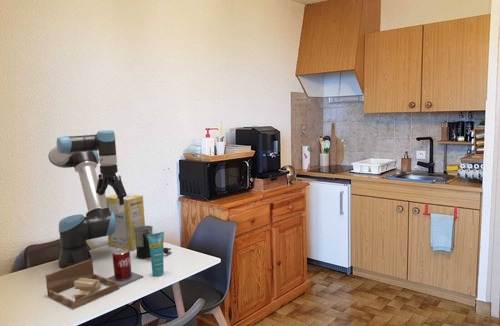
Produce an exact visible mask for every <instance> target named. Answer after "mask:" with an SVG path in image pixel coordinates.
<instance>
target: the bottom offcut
mask: <svg viewBox="0 0 500 326" xmlns="http://www.w3.org/2000/svg"><path fill="white" fill-rule="evenodd" d="M100 290H101V283H100V282H99V288H97V289H96V290H94V291H86V290H79V289H78V291H77V292H76V293H75V294H74V301H76V300H79V299H81V298H83V297H86V296H88V295H90V294H93V293H95V292H98V291H100Z"/></svg>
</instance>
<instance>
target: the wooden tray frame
mask: <svg viewBox="0 0 500 326" xmlns="http://www.w3.org/2000/svg"><path fill="white" fill-rule="evenodd" d="M93 263H94V262H93V259H90V260H87V261H84V262H81V263H78V264H75V265H72V266H69V267H66V268H61V269H58V270H55V271H53V272H49V273H45V280H46V290H47V291H46V292H47V296H48V298H49V297H50V298H51V299H53V300H55V301H57V302H59V303H62V304H63V305H64V306H68V307H69V308H72V309H73V310H75V309H77V308H80V307H82V306H84V305H86V304H89V303H91V302H93V301H96V300H98V299H100V298H102V297H103V298H104V296H108V295H109V294H111V293H114V292H116V291H118V290H120V289H121V287H119V283H117V282H115V281H112V280H109V279H107V278H108V277H104V276H101V275H100V274H99V275H98V274H96V273H95V272H94V264H93ZM80 278H87V279H95V280H99V282H100V284H102V285H106V286H107V285H108V286H107V287H105V288H102V289H100V290H99V291H98V292H95V293H93V294H90V295H88V296H86V297H83V298H81V299H79V300H76V301H75V300H72V299H70V298H68V297H66V296H64V295H62V294H59V293H62V292H64V291H67V290H69V289H72V288H74V281H76V280H78V279H80Z"/></svg>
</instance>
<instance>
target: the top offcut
mask: <svg viewBox="0 0 500 326" xmlns="http://www.w3.org/2000/svg"><path fill="white" fill-rule="evenodd" d="M73 288H74V289H75V290H78V291H79V290H86V291H94V290H96V289H97V288H99V280H95V279H87V278H80V279H78V280H76V281H74V287H73Z"/></svg>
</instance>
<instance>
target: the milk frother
mask: <svg viewBox="0 0 500 326" xmlns="http://www.w3.org/2000/svg"><path fill="white" fill-rule="evenodd" d="M134 230H135V238H136V250H135V251H136V256H135V257H136V259H141V260H142V259H144V260H145V259H151V255H150V248H149V242H148V237H147V235H149V234H154V233H153V226H152V225H145V226H140V227H136V228H135V229H134ZM171 250H172V249H171V247H170V248H168V247H163V253H164V254H166V253H168V252H169V251H171Z"/></svg>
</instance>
